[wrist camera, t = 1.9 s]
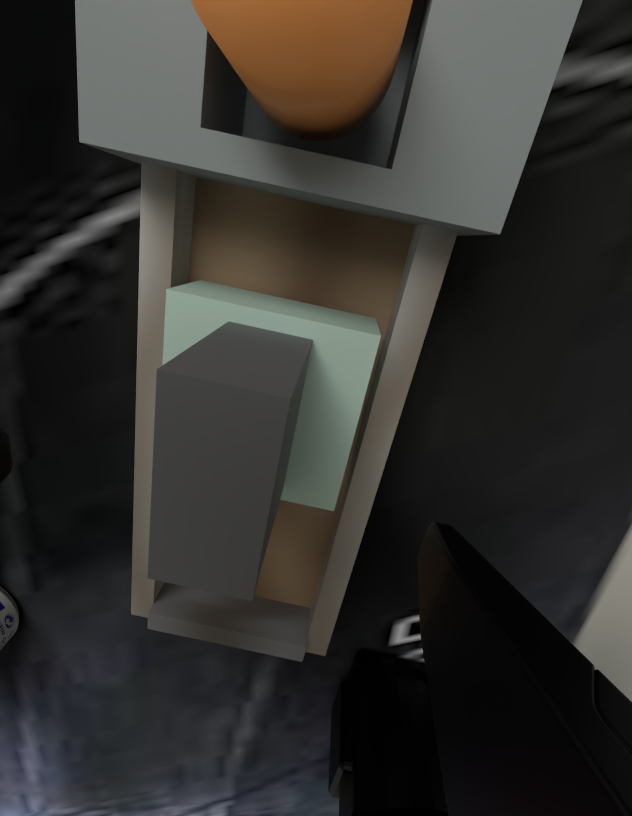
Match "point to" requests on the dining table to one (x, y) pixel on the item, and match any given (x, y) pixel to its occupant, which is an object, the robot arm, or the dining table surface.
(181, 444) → the carriage
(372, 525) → the dining table surface
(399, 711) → the robot arm
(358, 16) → the button
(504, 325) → the dining table surface
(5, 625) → the energy drink
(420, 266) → the rail board
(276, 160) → the cabinet
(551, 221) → the dining table surface
